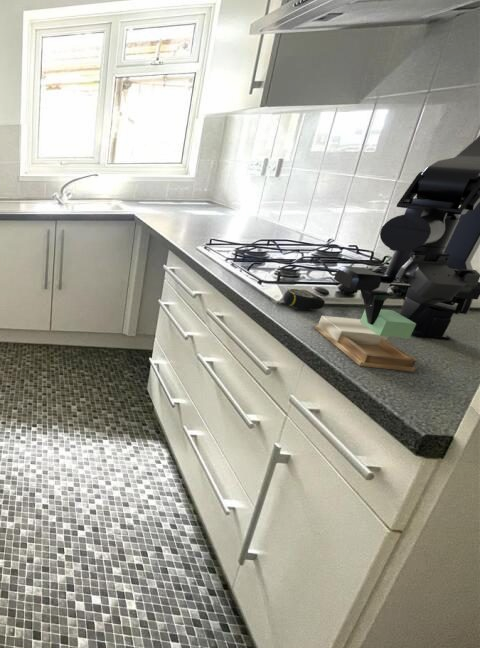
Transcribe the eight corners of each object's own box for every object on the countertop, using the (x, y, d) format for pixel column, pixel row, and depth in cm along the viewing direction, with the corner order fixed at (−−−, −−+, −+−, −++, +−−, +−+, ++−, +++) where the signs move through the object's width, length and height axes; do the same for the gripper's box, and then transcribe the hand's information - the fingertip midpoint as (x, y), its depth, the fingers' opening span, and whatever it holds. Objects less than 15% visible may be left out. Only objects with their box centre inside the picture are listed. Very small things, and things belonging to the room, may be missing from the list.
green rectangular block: (359, 322, 81) (365, 307, 79) (386, 324, 80) (393, 310, 78) (379, 335, 75) (386, 321, 74) (409, 338, 74) (416, 323, 73)
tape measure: (322, 313, 98) (328, 298, 97) (292, 312, 99) (298, 297, 97) (303, 302, 105) (308, 288, 103) (275, 301, 105) (279, 287, 104)
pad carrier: (314, 328, 91) (319, 315, 90) (359, 332, 89) (365, 319, 88) (359, 365, 77) (366, 350, 75) (414, 371, 75) (421, 356, 74)
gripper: (389, 252, 66) (352, 339, 72) (538, 261, 62) (485, 352, 68) (347, 235, 76) (318, 313, 82) (474, 242, 72) (433, 323, 78)
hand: (385, 325), depth 77 cm, fingers closed on green rectangular block, 4 cm apart
